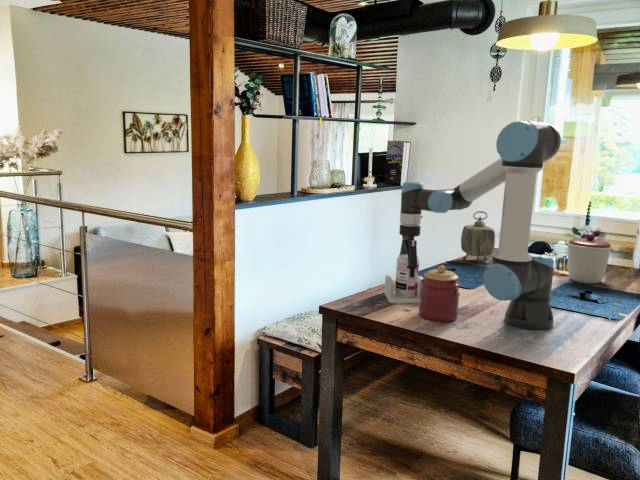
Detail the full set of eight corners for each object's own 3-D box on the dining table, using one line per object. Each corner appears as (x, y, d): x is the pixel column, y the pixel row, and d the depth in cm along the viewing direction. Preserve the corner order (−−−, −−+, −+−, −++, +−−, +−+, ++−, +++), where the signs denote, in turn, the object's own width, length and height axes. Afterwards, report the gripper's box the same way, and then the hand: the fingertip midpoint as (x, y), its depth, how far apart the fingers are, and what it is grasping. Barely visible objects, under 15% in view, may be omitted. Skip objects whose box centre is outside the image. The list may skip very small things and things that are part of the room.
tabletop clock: (487, 259, 279) (492, 210, 274) (494, 264, 270) (499, 213, 265) (459, 259, 278) (463, 209, 273) (465, 263, 269) (469, 212, 264)
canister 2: (568, 284, 235) (574, 235, 231) (558, 274, 253) (563, 228, 249) (614, 288, 232) (620, 238, 228) (600, 277, 250) (606, 231, 246)
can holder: (428, 303, 201) (429, 285, 200) (390, 303, 201) (391, 284, 200) (420, 292, 215) (421, 275, 214) (384, 292, 215) (385, 274, 213)
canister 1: (429, 323, 180) (433, 270, 177) (412, 311, 192) (415, 261, 189) (465, 321, 183) (469, 269, 180) (446, 309, 196) (450, 260, 192)
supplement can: (416, 292, 211) (418, 254, 209) (417, 299, 203) (420, 259, 201) (394, 291, 212) (396, 253, 209) (395, 297, 204) (397, 257, 201)
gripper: (428, 230, 191) (424, 290, 195) (413, 219, 215) (410, 273, 219) (406, 229, 190) (403, 289, 194) (394, 219, 215) (391, 272, 219)
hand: (406, 281), depth 207 cm, fingers open, 13 cm apart
